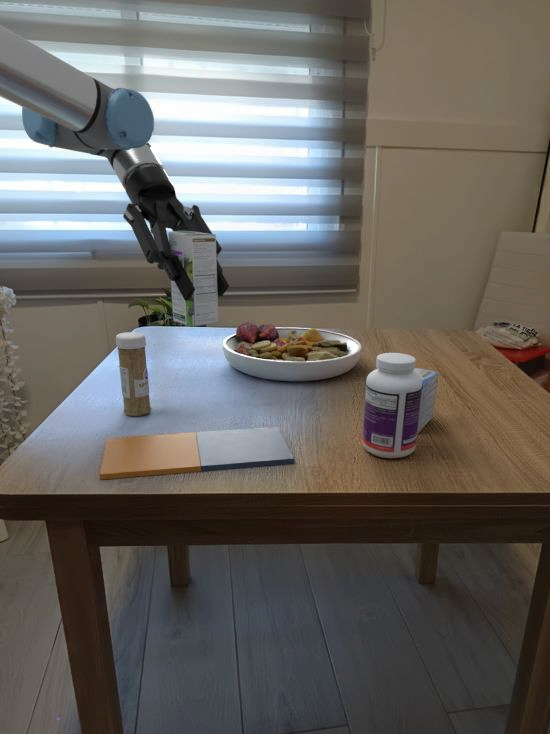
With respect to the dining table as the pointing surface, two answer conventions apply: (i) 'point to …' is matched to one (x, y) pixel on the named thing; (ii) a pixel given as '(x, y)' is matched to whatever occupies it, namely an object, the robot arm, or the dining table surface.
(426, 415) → the medicine box
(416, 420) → the pill bottle
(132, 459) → the sorting board
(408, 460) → the dining table surface
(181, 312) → the syrup box
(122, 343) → the sprinkles bottle
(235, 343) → the bowl
